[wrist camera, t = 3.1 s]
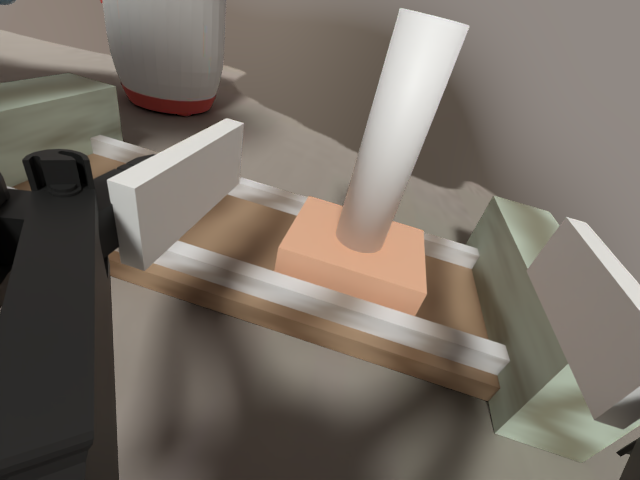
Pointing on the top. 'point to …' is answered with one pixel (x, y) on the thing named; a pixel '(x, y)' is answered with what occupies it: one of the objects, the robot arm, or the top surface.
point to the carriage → (380, 179)
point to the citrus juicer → (167, 51)
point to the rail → (334, 307)
